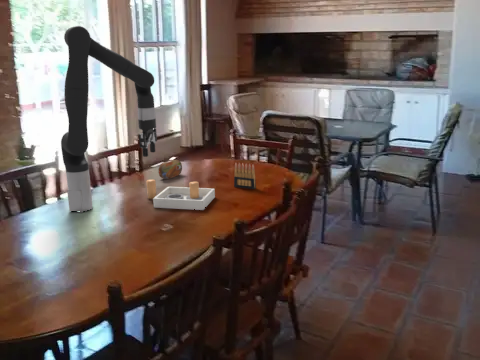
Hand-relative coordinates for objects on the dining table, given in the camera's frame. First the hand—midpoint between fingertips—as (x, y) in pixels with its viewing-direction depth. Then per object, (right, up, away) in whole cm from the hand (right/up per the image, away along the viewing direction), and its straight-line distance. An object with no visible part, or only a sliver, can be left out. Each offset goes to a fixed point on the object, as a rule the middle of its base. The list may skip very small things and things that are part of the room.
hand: (149, 154), depth 240 cm
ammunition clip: (+42, -15, +17) cm, 48 cm away
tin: (+4, -10, +39) cm, 40 cm away
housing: (+16, -21, -2) cm, 27 cm away
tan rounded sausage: (0, -19, +5) cm, 20 cm away
